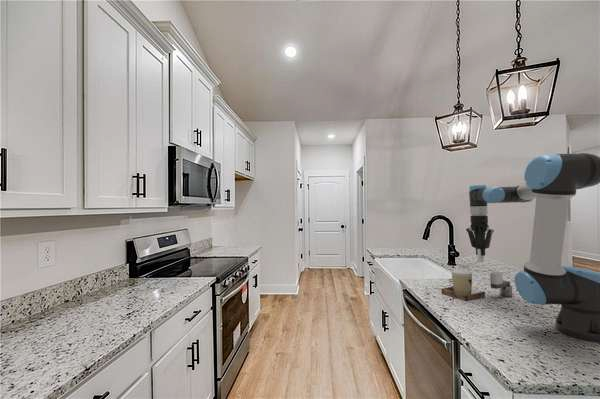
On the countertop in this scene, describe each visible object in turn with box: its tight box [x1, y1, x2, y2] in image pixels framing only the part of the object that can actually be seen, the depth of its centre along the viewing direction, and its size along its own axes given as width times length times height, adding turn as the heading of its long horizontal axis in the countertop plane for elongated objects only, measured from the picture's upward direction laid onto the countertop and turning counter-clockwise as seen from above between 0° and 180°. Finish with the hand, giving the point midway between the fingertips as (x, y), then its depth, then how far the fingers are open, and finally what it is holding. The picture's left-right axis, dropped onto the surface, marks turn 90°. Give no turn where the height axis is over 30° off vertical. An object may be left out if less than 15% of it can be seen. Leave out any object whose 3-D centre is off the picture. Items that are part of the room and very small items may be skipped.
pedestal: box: [499, 285, 513, 298], centre depth 146 cm, size 5×5×5 cm
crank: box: [489, 271, 511, 290], centre depth 145 cm, size 12×4×7 cm, turn 115°
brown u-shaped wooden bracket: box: [441, 285, 486, 302], centre depth 149 cm, size 14×14×2 cm
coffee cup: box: [451, 269, 473, 295], centre depth 149 cm, size 9×9×12 cm
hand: (480, 261), depth 146 cm, fingers closed
